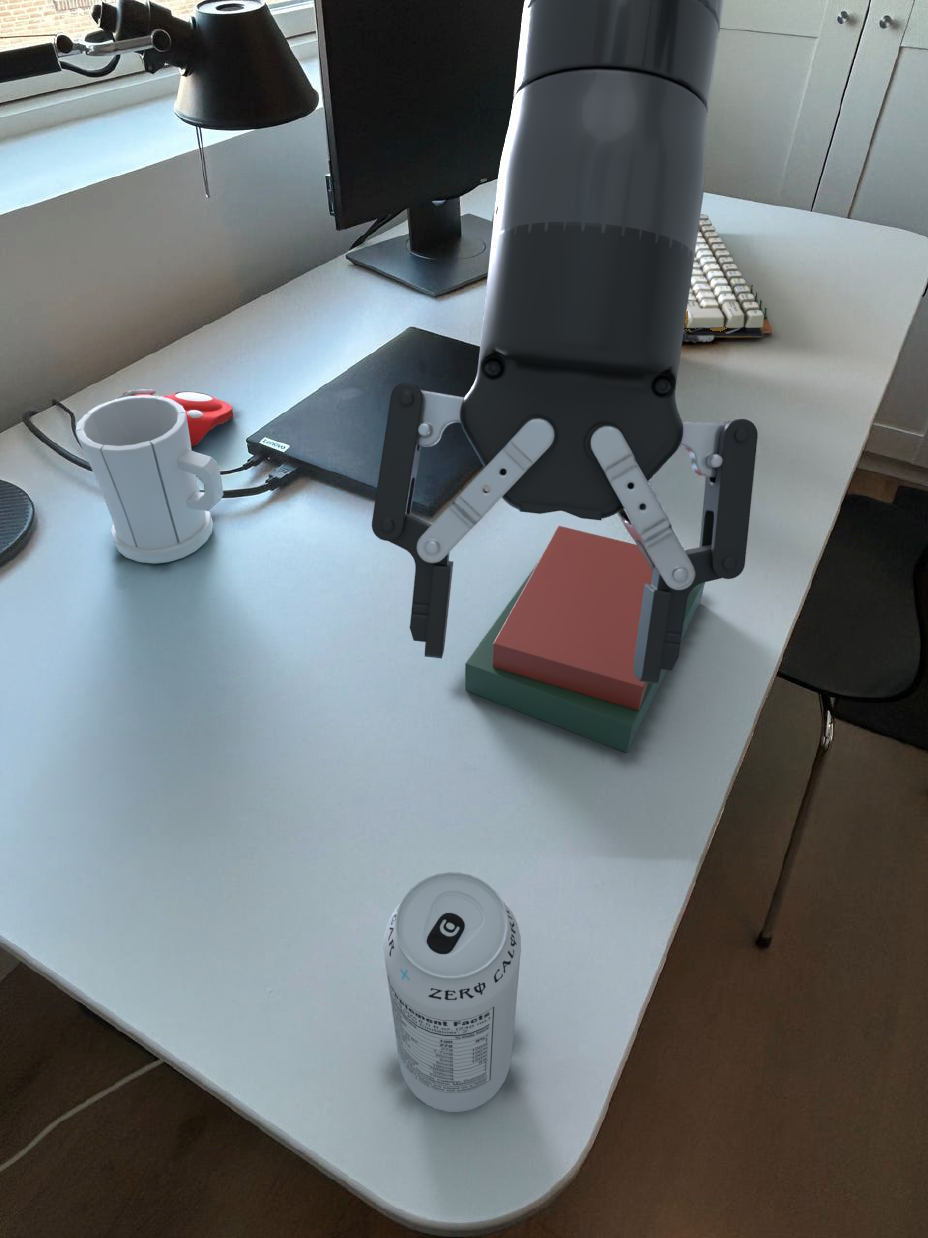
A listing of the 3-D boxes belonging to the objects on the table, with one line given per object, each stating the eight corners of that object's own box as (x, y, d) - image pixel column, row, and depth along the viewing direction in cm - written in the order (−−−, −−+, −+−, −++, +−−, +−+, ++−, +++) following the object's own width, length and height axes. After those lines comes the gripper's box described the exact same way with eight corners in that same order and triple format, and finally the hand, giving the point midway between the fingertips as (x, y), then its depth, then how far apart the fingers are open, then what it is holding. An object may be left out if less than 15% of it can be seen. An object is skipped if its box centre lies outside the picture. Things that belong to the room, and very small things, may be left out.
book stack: (558, 557, 78) (562, 506, 75) (700, 602, 74) (712, 551, 70) (465, 690, 67) (464, 639, 63) (626, 753, 62) (637, 702, 59)
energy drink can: (529, 1035, 48) (546, 897, 38) (477, 1142, 45) (479, 1021, 34) (435, 982, 51) (427, 838, 40) (378, 1080, 47) (352, 948, 36)
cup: (225, 496, 85) (199, 383, 77) (239, 552, 79) (212, 436, 71) (112, 517, 83) (73, 403, 75) (118, 577, 77) (76, 460, 68)
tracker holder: (231, 387, 98) (237, 411, 90) (229, 426, 100) (235, 453, 92) (114, 377, 94) (109, 401, 86) (115, 417, 96) (110, 445, 88)
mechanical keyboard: (589, 232, 135) (591, 209, 133) (712, 232, 136) (716, 209, 133) (624, 346, 108) (627, 320, 106) (777, 346, 108) (784, 319, 106)
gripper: (390, 191, 29) (349, 667, 32) (820, 236, 29) (742, 711, 32) (411, 248, 36) (376, 630, 39) (754, 284, 36) (695, 666, 39)
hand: (540, 666), depth 35 cm, fingers open, 8 cm apart
